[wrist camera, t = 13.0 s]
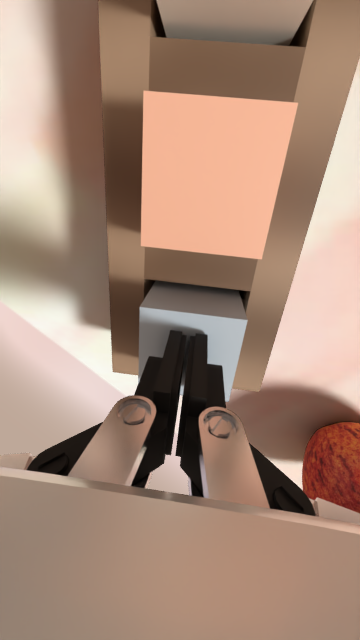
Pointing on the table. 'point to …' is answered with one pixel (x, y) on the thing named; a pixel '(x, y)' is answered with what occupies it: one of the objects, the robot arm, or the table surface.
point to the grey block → (193, 324)
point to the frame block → (223, 81)
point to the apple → (334, 465)
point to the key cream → (233, 20)
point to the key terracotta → (211, 171)
